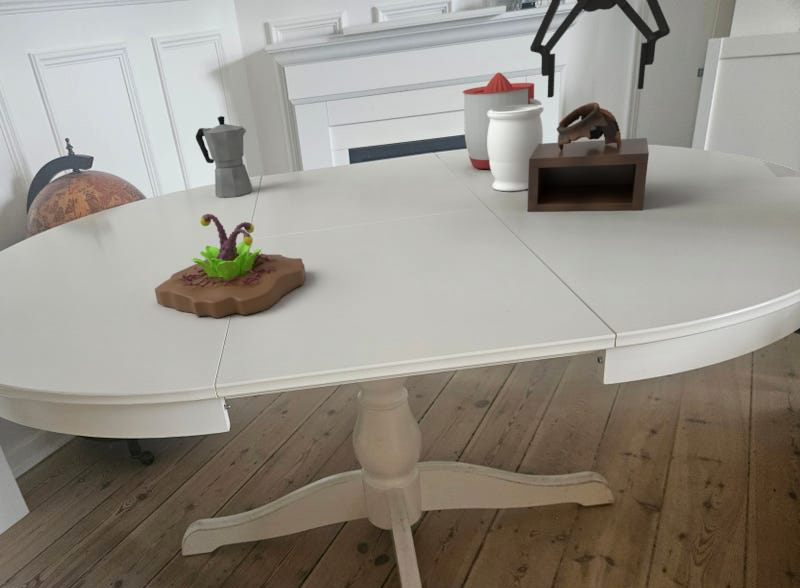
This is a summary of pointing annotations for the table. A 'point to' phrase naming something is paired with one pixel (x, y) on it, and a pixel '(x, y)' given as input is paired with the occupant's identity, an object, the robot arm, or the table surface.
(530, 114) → the jar
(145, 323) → the table surface
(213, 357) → the table surface
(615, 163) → the stand
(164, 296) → the plant
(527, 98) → the citrus juicer
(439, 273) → the table surface
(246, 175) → the coffeepot
